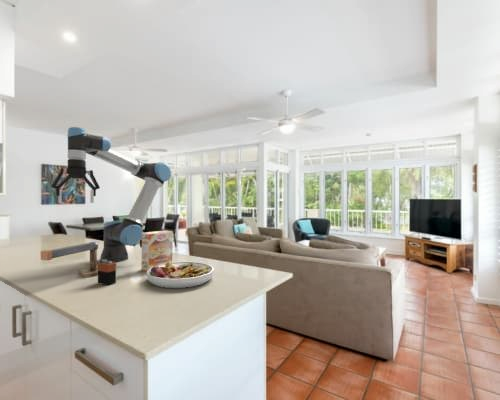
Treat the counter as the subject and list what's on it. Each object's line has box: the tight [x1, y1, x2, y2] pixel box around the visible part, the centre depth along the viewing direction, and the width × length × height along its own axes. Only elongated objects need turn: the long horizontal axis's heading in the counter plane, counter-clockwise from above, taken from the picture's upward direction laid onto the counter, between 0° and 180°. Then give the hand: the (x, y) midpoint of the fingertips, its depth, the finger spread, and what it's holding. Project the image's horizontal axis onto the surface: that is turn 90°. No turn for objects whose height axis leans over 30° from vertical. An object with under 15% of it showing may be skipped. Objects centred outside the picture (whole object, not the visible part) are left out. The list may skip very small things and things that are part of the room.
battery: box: [97, 260, 117, 286], centre depth 122 cm, size 4×7×10 cm, turn 63°
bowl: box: [146, 261, 215, 289], centre depth 129 cm, size 30×30×8 cm
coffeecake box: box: [140, 230, 174, 272], centre depth 148 cm, size 15×7×20 cm, turn 143°
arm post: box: [78, 249, 98, 279], centre depth 136 cm, size 10×10×12 cm
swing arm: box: [40, 241, 99, 261], centre depth 125 cm, size 4×26×4 cm, turn 164°
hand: (76, 202), depth 136 cm, fingers open, 13 cm apart
